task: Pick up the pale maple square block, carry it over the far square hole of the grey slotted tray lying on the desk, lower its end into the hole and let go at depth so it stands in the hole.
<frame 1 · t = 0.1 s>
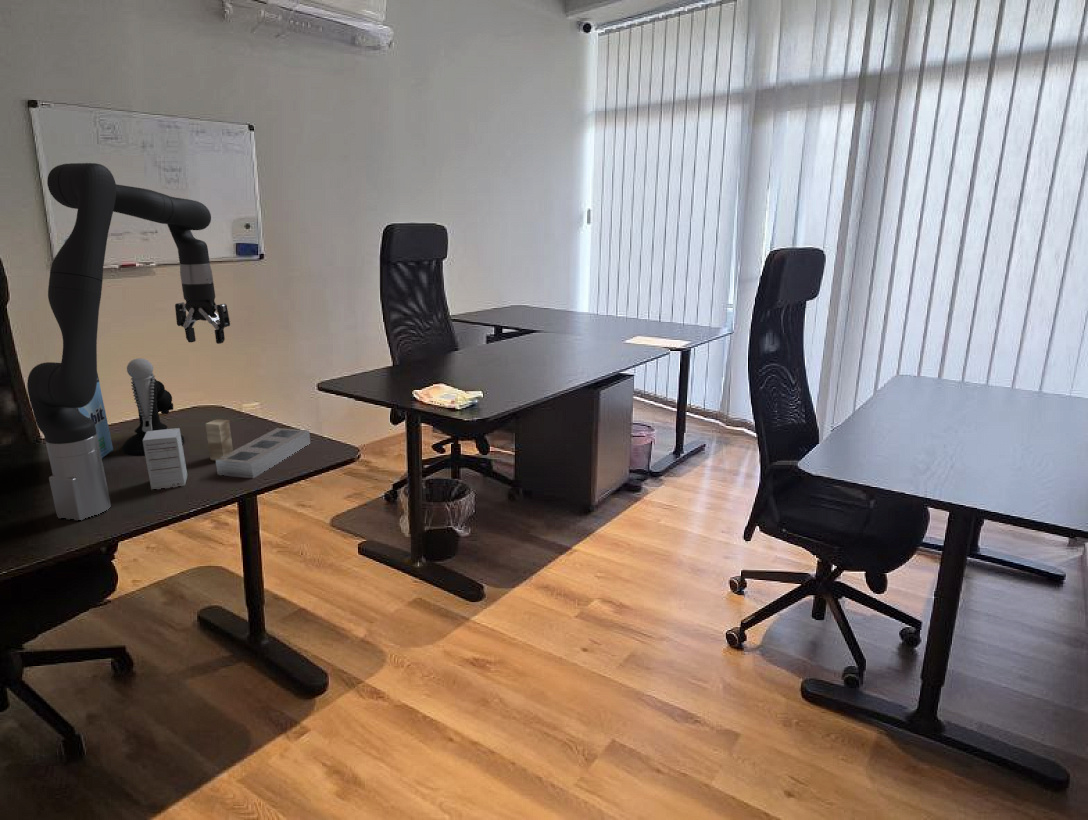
hand: (206, 342, 188), 29 cm above the table, tool pointing down, fingers open, 8 cm apart
supplement box: (169, 483, 170), on the table
sculpture: (158, 441, 200), on the table
grey slotted tray: (266, 458, 186), on the table
gum box: (87, 463, 183), on the table
maple block: (222, 457, 186), on the table
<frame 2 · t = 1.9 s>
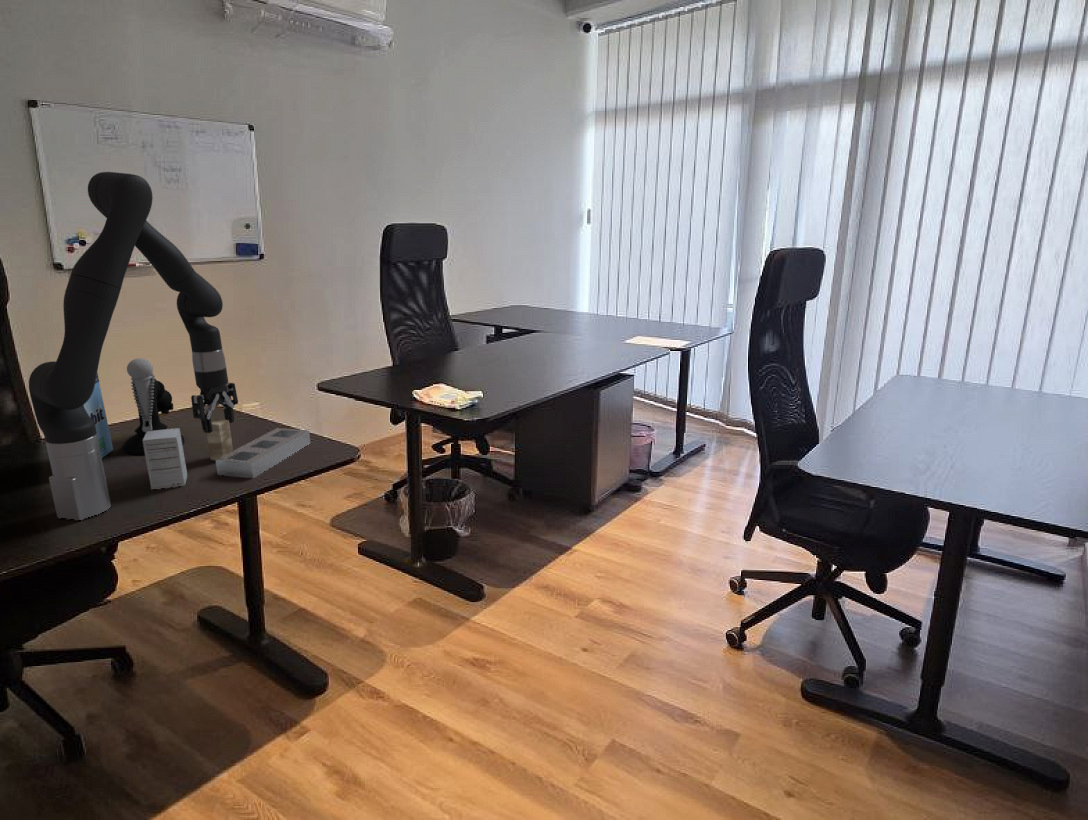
hand: (219, 427, 184), 8 cm above the table, tool pointing down, fingers open, 8 cm apart
nothing on the table moved.
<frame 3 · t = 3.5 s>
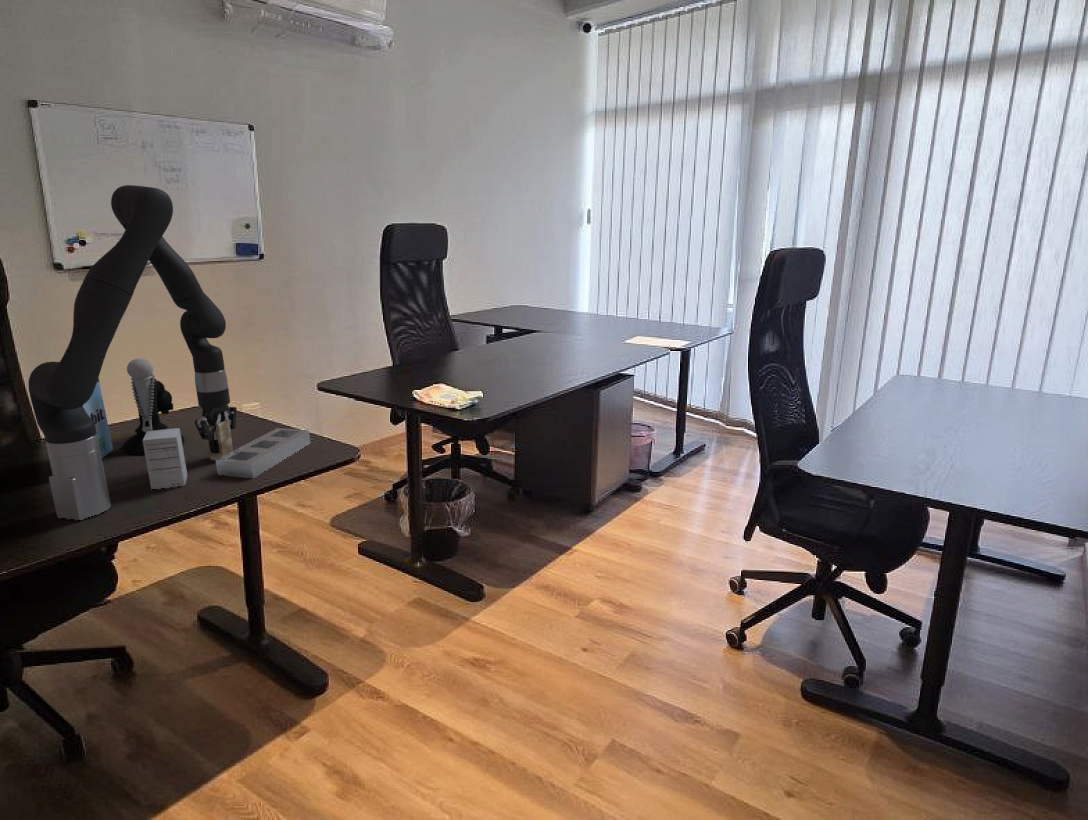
hand: (221, 449, 186), 2 cm above the table, tool pointing down, fingers closed on maple block, 4 cm apart
maple block: (222, 457, 186), on the table, touching gripper
everything else where it was.
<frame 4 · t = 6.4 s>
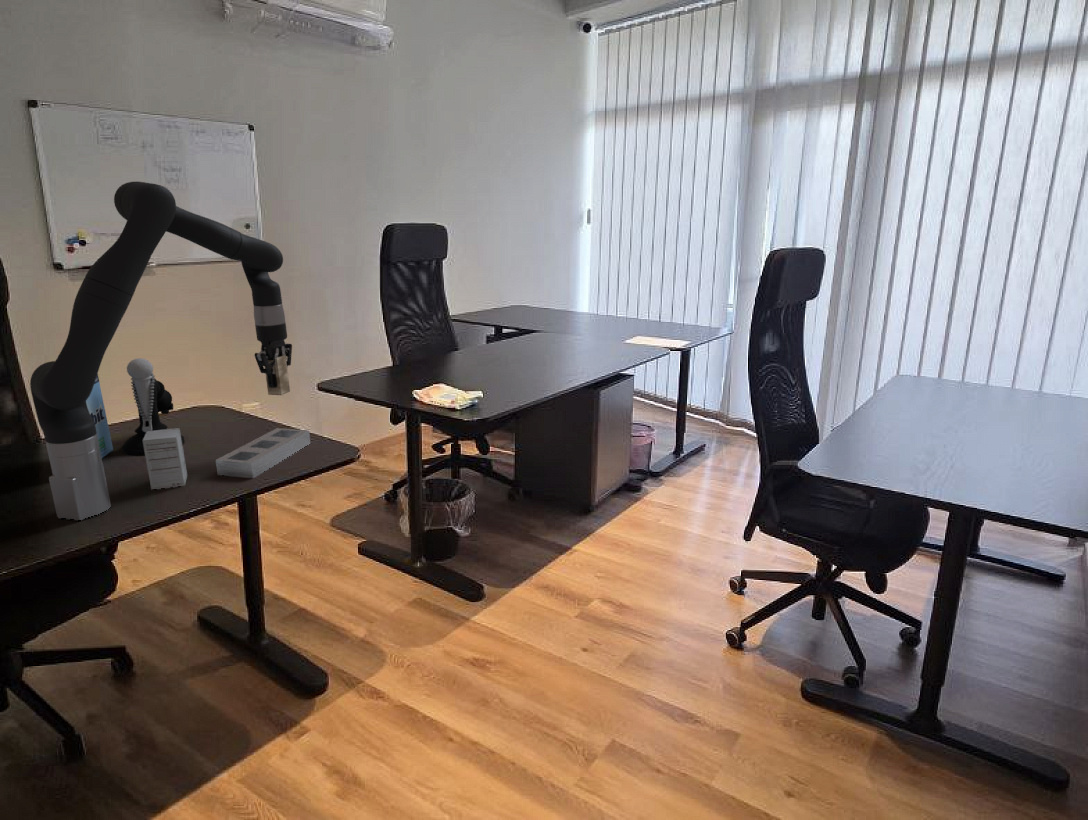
hand: (278, 384, 189), 18 cm above the table, tool pointing down, fingers closed on maple block, 4 cm apart
maple block: (279, 393, 190), point 16 cm above the table, touching gripper
everything else where it was.
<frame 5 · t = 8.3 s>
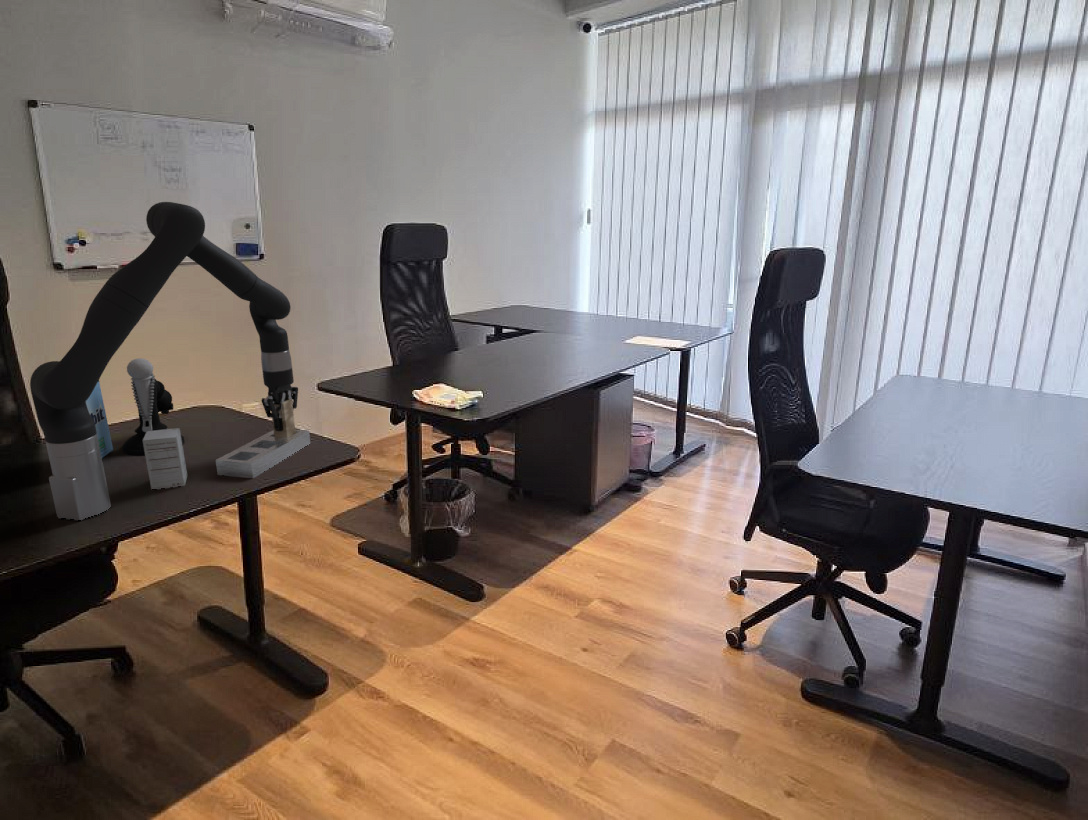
hand: (284, 427, 192), 6 cm above the table, tool pointing down, fingers closed on maple block, 4 cm apart
maple block: (285, 435, 193), point 3 cm above the table, touching gripper
everything else where it was.
when the fingers open (5 cm above the table, at t = 9.5 s): maple block drops 2 cm, resting in grey slotted tray.
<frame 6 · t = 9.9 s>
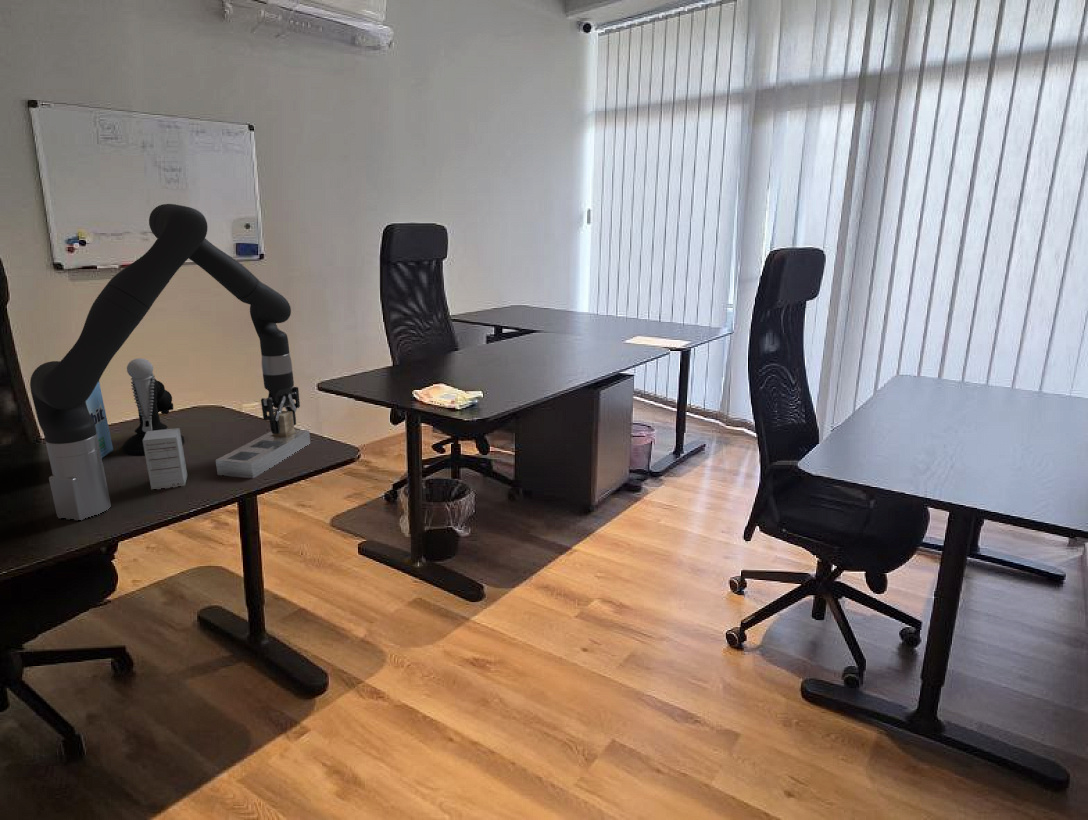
hand: (284, 429, 193), 5 cm above the table, tool pointing down, fingers open, 7 cm apart
maple block: (285, 447, 194), resting in grey slotted tray
everything else where it was.
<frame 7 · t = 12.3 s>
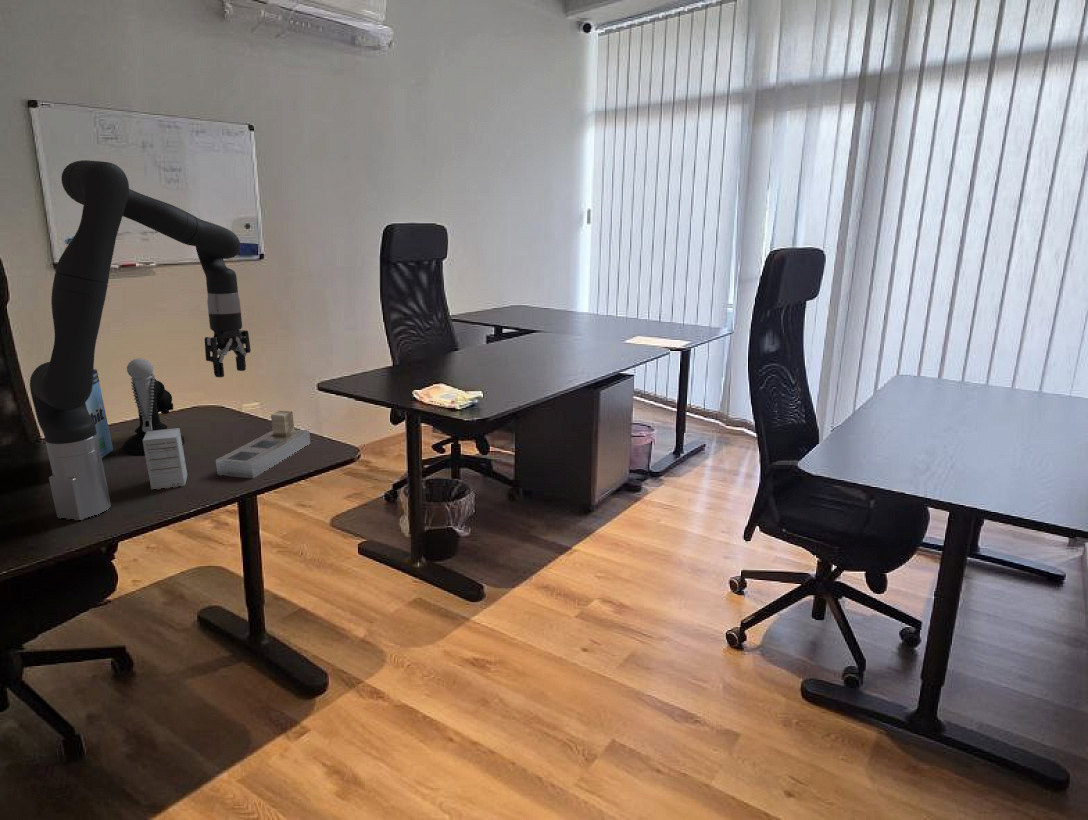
hand: (230, 373, 182), 23 cm above the table, tool pointing down, fingers open, 8 cm apart
nothing on the table moved.
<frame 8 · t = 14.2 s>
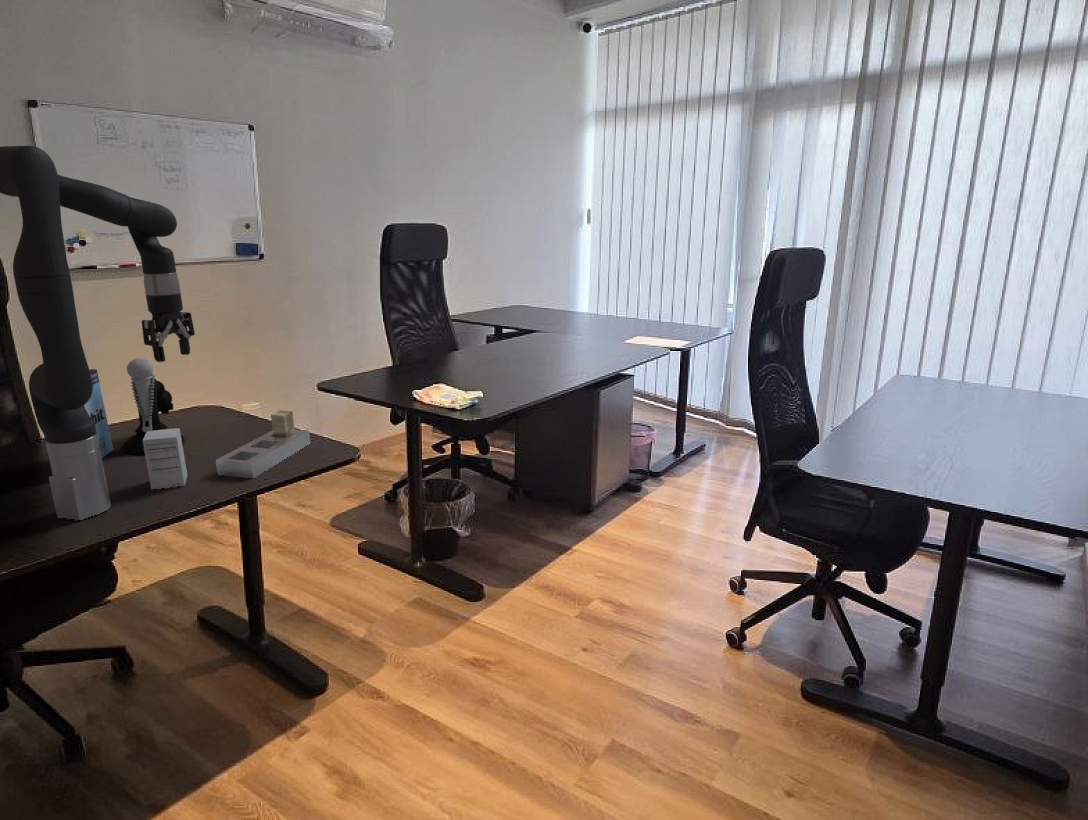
hand: (173, 357, 174), 28 cm above the table, tool pointing down, fingers open, 8 cm apart
nothing on the table moved.
at the end: maple block 0.2 cm from the target spot on the grey slotted tray, point 0.0 cm above the grey slotted tray's base; maple block tilted 0°; the gripper is holding nothing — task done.
